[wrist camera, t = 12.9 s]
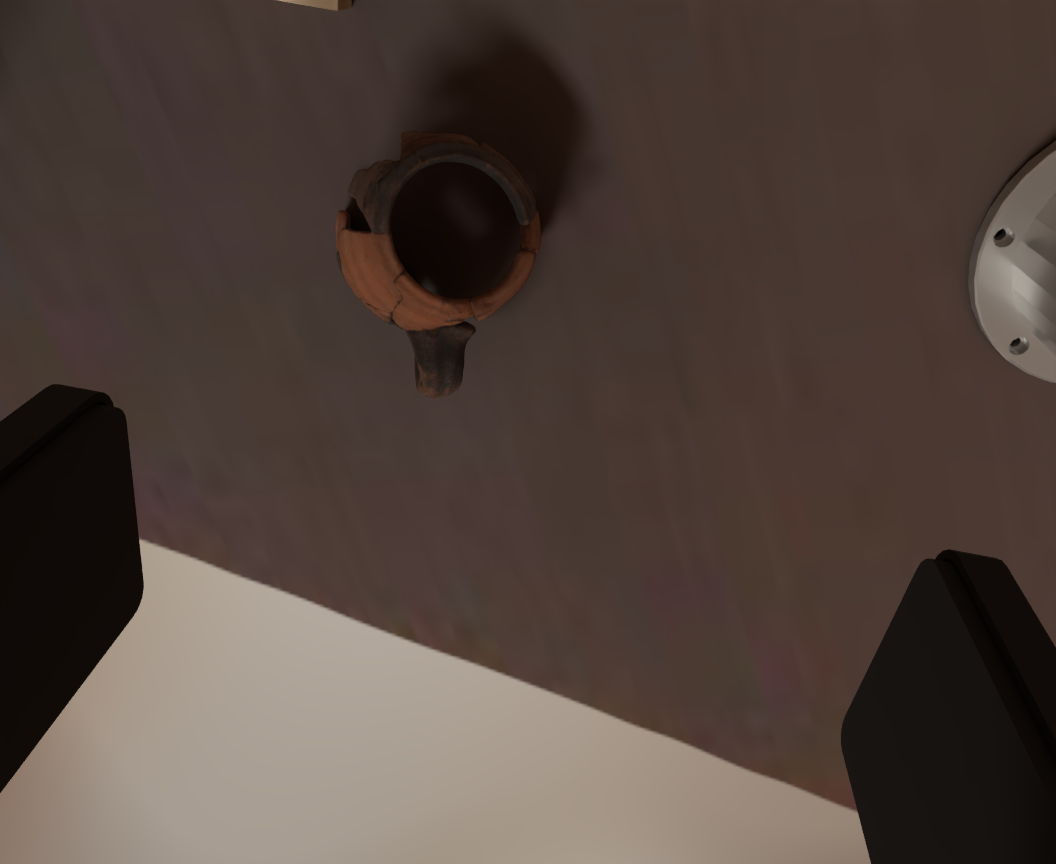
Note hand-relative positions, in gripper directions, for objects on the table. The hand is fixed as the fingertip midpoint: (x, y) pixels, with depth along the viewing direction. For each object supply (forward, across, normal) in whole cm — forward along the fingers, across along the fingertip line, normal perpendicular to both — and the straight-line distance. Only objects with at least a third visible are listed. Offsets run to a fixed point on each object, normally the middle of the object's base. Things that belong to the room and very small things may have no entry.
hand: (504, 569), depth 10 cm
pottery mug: (+33, +6, +8) cm, 34 cm away
